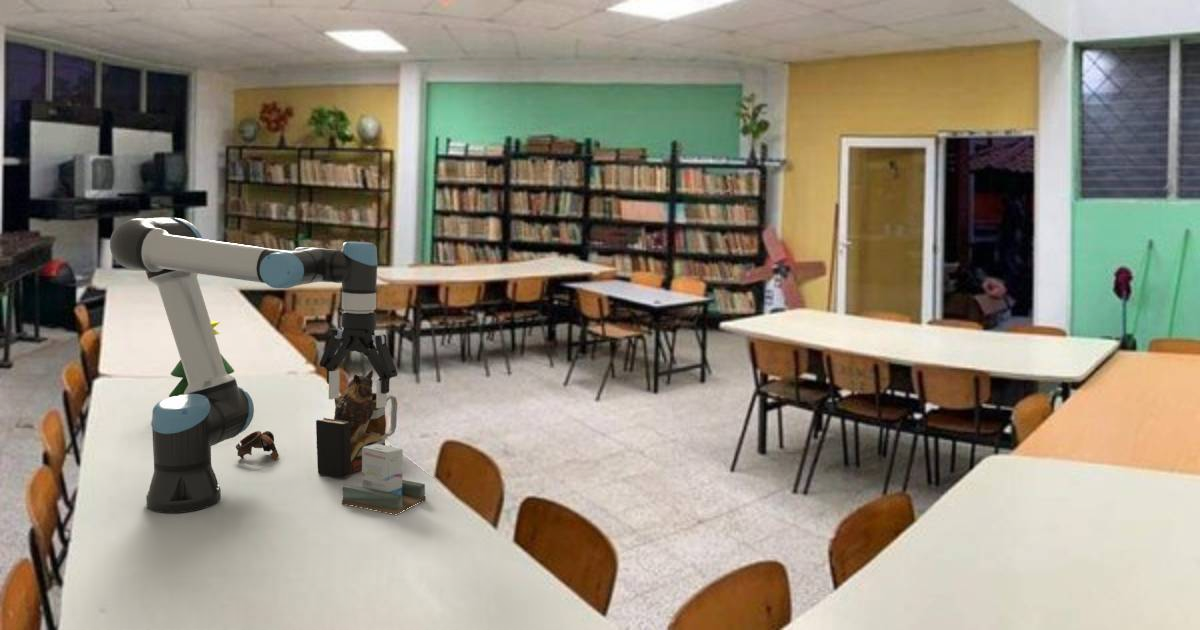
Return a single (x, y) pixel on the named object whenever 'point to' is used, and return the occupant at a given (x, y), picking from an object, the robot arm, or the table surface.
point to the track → (384, 497)
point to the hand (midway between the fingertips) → (357, 402)
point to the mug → (380, 418)
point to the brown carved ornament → (257, 444)
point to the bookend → (347, 430)
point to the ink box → (382, 468)
